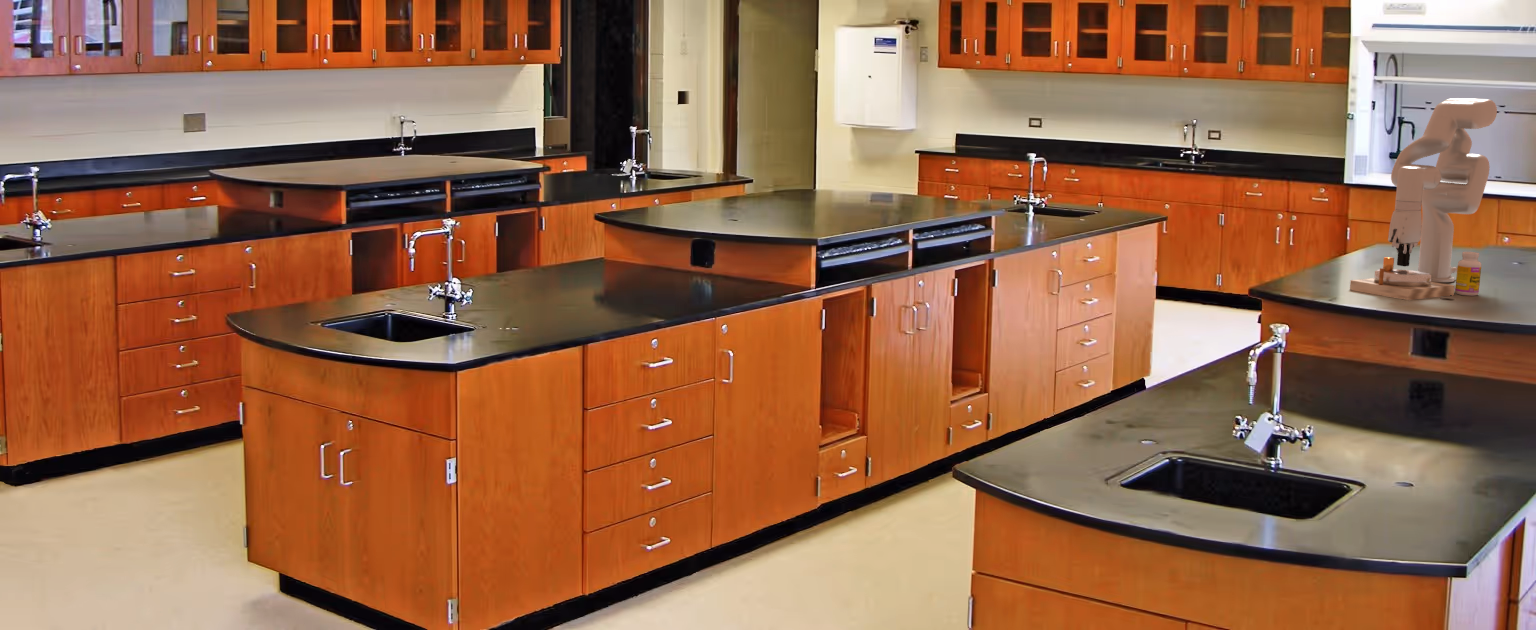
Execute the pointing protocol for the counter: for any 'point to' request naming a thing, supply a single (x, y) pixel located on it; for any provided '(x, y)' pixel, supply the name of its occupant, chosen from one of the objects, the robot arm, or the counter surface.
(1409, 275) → the dial
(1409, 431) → the counter surface
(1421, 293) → the dial base
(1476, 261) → the supplement bottle
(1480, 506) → the counter surface
